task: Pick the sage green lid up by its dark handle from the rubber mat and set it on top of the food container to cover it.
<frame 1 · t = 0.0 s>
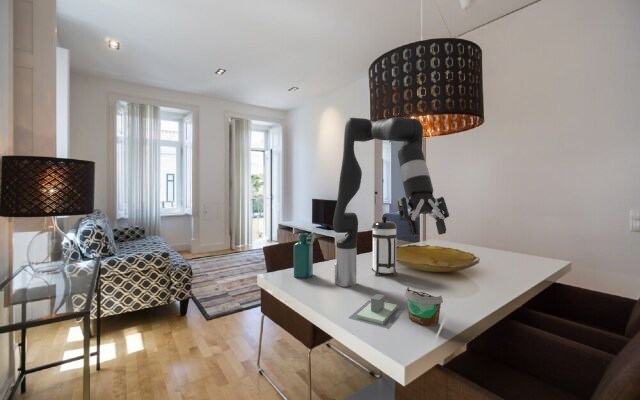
hand: (429, 234, 75), 31 cm above the table, tool tilted 20°, fingers open, 8 cm apart
lid: (377, 312, 98), point 1 cm above the table, touching mat
food container: (419, 324, 91), on the table
green bottle: (304, 276, 143), on the table
coffee press: (385, 274, 146), on the table
mat: (377, 314, 98), on the table
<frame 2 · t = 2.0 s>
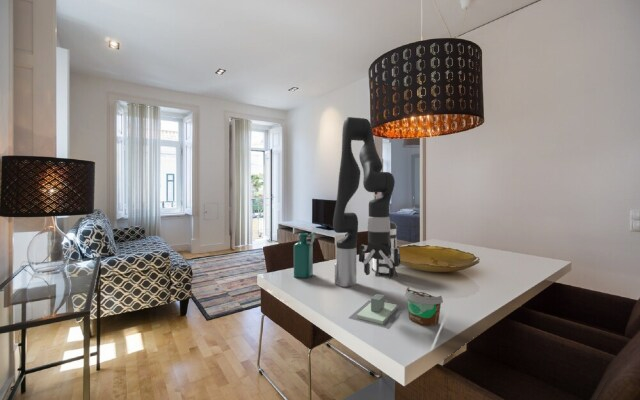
hand: (379, 276, 97), 14 cm above the table, tool pointing down, fingers open, 8 cm apart
nothing on the table moved.
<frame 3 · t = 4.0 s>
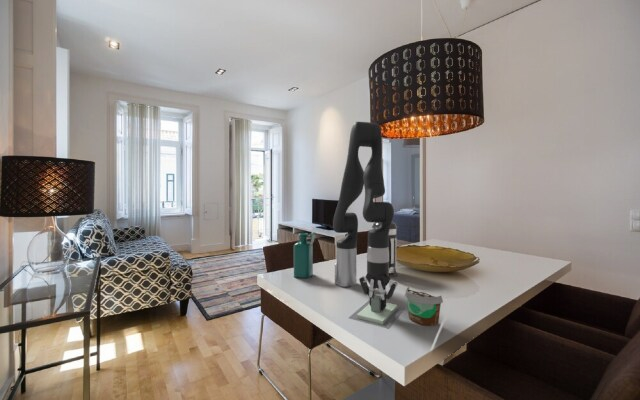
hand: (377, 307, 98), 2 cm above the table, tool pointing down, fingers closed on lid, 3 cm apart
lid: (377, 312, 98), point 1 cm above the table, touching gripper, mat
everything else where it was.
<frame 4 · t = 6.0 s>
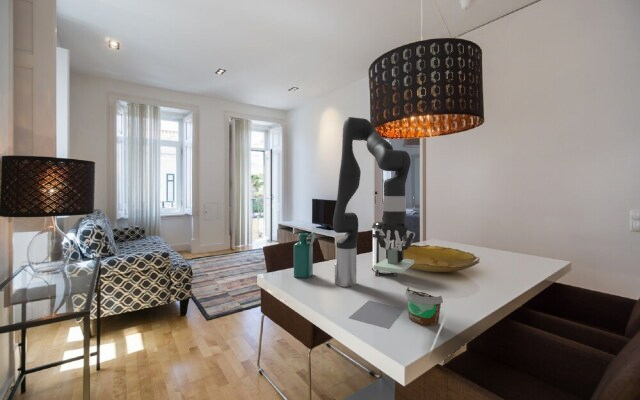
hand: (394, 260, 94), 20 cm above the table, tool pointing down, fingers closed on lid, 3 cm apart
lid: (394, 266, 94), point 18 cm above the table, touching gripper
everything else where it was.
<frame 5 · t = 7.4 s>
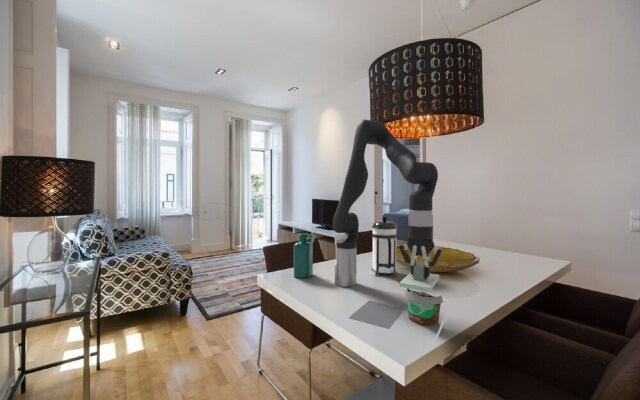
hand: (420, 276, 91), 15 cm above the table, tool pointing down, fingers closed on lid, 3 cm apart
lid: (420, 282, 91), point 14 cm above the table, touching gripper
everything else where it was.
when the fingers open (13 cm above the table, at t = 8.1 s): lid drops 2 cm, resting on food container.
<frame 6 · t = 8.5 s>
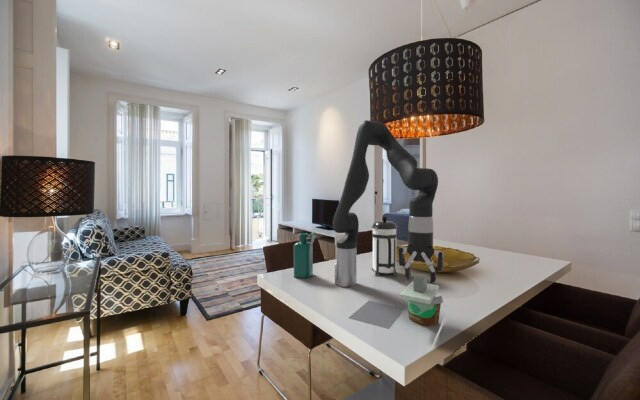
hand: (420, 280, 91), 14 cm above the table, tool pointing down, fingers open, 6 cm apart
lid: (420, 293, 91), point 10 cm above the table, touching food container
food container: (419, 324, 91), on the table, touching lid
everything else where it was.
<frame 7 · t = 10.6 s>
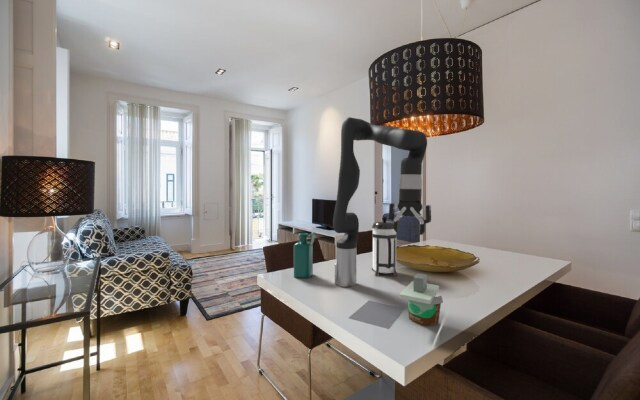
hand: (408, 233, 100), 28 cm above the table, tool pointing down, fingers open, 8 cm apart
nothing on the table moved.
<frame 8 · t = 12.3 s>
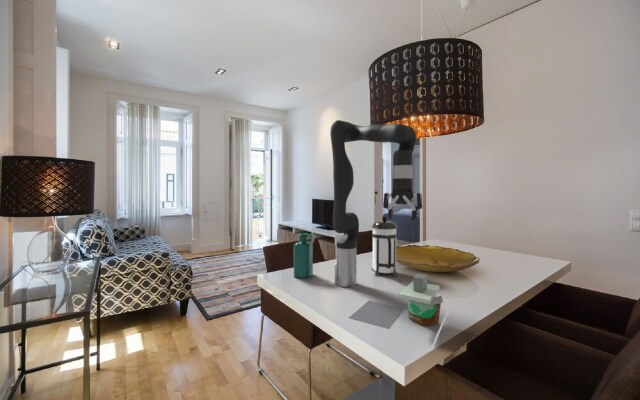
hand: (402, 220, 107), 32 cm above the table, tool pointing down, fingers open, 8 cm apart
nothing on the table moved.
at the end: lid 0.1 cm off-centre on the food container, point 10.2 cm above the food container's base; food container tilted 0°; the gripper is holding nothing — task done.
